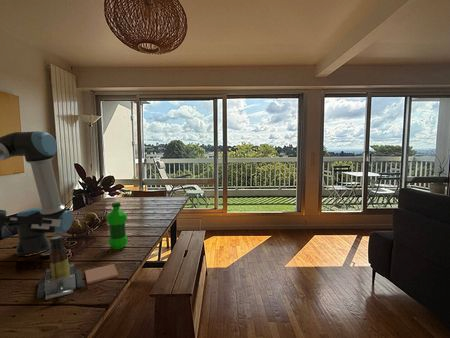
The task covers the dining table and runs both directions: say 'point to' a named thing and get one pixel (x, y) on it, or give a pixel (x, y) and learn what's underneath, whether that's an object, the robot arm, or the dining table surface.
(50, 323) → the dining table surface
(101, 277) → the terracotta tile
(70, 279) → the dark grey square frame
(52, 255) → the sauce bottle
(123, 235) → the plastic bottle
